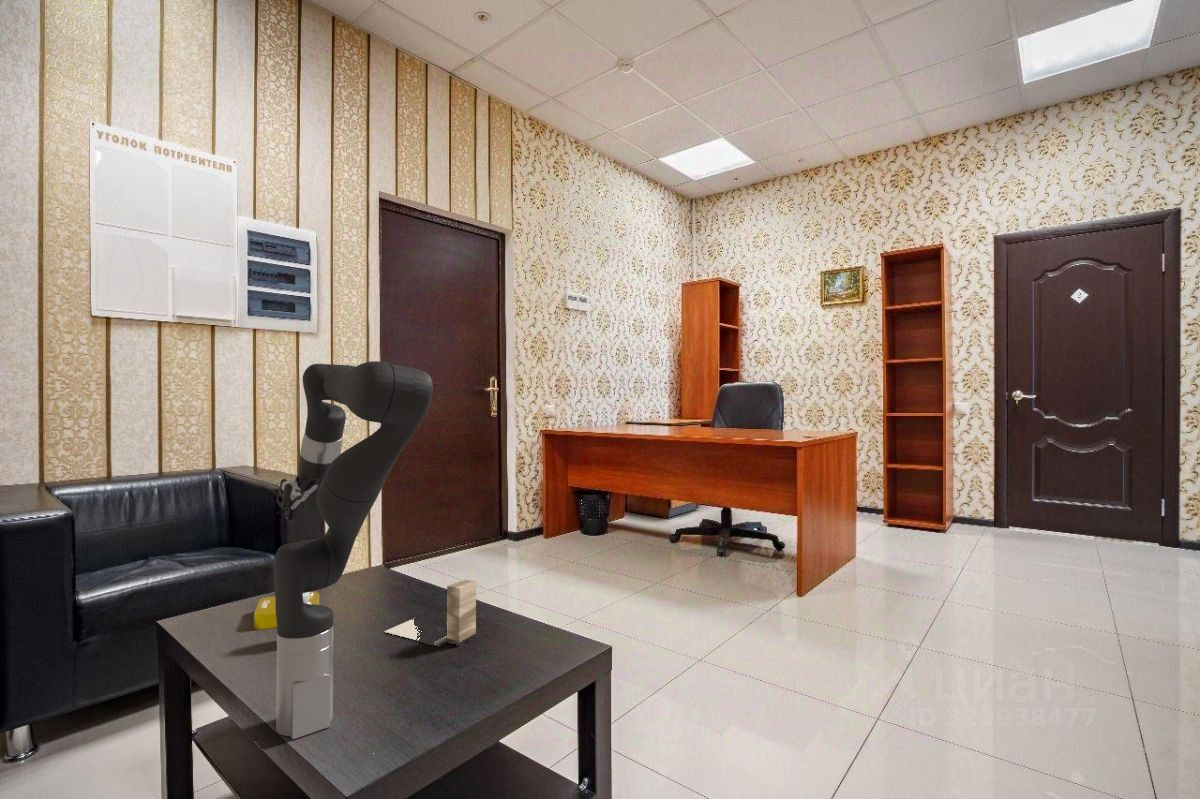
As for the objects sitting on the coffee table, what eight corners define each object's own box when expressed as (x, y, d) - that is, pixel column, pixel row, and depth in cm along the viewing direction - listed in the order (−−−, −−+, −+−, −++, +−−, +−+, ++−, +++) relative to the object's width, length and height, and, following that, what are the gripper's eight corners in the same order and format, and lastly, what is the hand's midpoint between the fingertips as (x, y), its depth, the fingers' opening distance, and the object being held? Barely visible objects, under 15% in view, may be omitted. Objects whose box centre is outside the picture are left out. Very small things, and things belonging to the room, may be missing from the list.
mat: (470, 630, 148) (470, 626, 148) (436, 647, 137) (436, 643, 137) (419, 617, 156) (419, 613, 156) (384, 632, 146) (384, 628, 146)
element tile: (259, 613, 160) (260, 595, 160) (319, 605, 167) (319, 588, 167) (252, 632, 147) (252, 613, 147) (317, 623, 153) (317, 605, 153)
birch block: (475, 637, 143) (476, 581, 143) (459, 646, 138) (459, 588, 138) (463, 634, 145) (463, 579, 145) (446, 643, 140) (447, 585, 140)
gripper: (295, 469, 110) (285, 534, 116) (362, 454, 122) (350, 513, 128) (276, 449, 114) (267, 513, 120) (343, 435, 125) (332, 494, 131)
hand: (310, 513), depth 124 cm, fingers open, 8 cm apart
